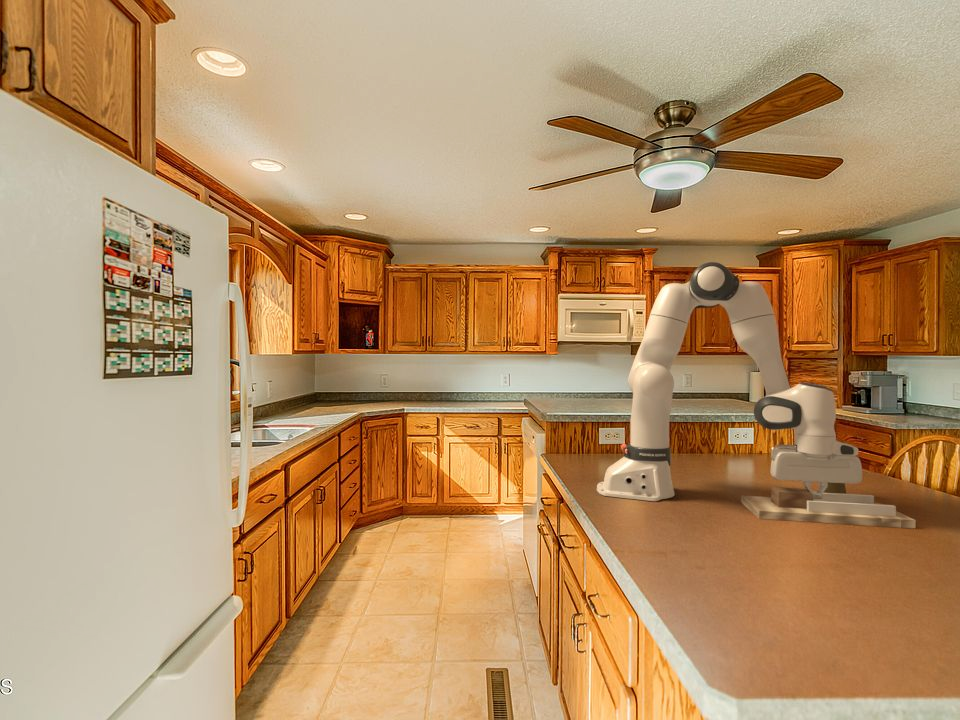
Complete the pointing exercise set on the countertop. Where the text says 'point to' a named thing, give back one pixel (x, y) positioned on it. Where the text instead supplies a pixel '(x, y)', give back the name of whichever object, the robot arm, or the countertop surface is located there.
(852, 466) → the robot arm
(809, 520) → the board
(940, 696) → the countertop surface
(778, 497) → the walnut block
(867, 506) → the channel walls
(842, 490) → the cork
